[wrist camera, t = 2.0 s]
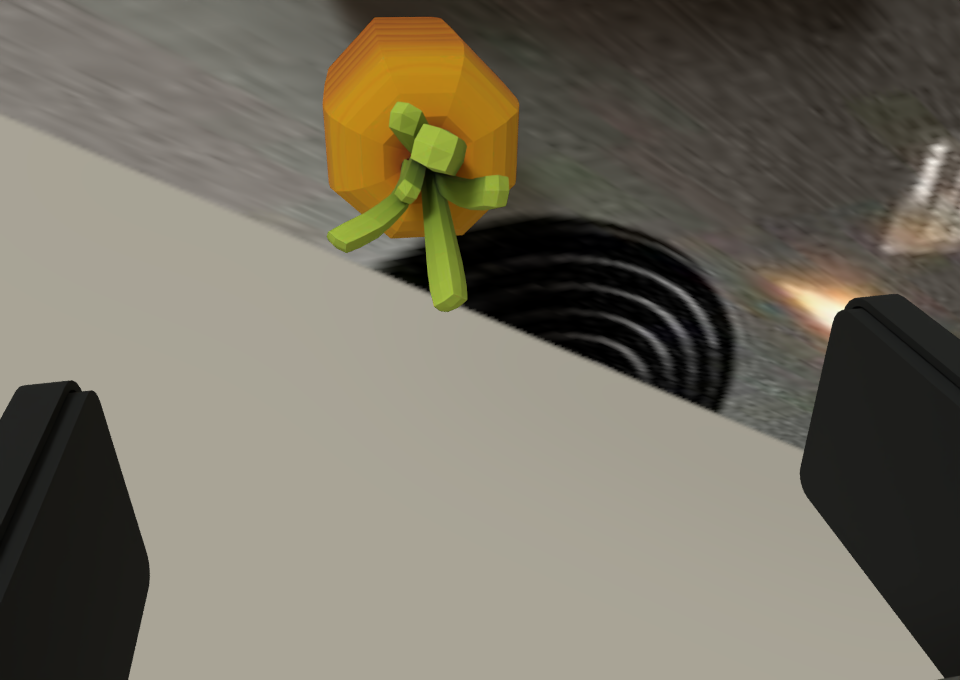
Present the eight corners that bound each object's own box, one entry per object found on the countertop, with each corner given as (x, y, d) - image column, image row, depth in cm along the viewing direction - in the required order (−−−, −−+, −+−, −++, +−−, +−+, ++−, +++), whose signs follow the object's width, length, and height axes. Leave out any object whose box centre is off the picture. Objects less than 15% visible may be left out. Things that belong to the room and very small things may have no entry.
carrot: (433, 143, 30) (512, 364, 18) (300, 93, 29) (280, 297, 16) (488, 9, 28) (622, 149, 16) (347, -54, 27) (369, 47, 14)
